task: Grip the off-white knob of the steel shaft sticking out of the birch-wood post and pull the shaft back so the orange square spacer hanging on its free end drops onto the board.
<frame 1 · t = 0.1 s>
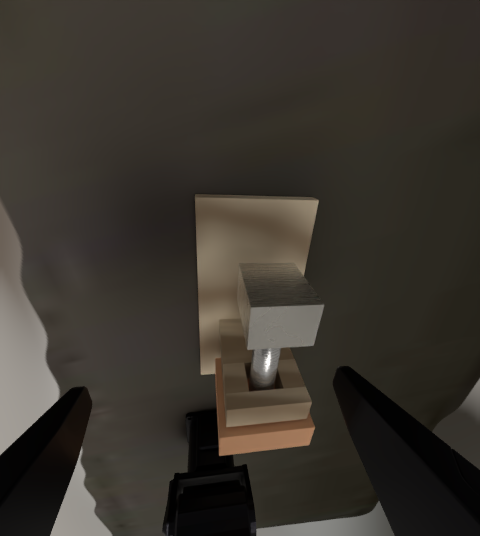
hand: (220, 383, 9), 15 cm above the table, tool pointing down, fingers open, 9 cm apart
spacer: (250, 364, 24), point 4 cm above the table, touching shaft
bracket: (248, 295, 25), on the table
shaft: (264, 361, 18), point 8 cm above the table, slide at 0.0 cm, touching spacer
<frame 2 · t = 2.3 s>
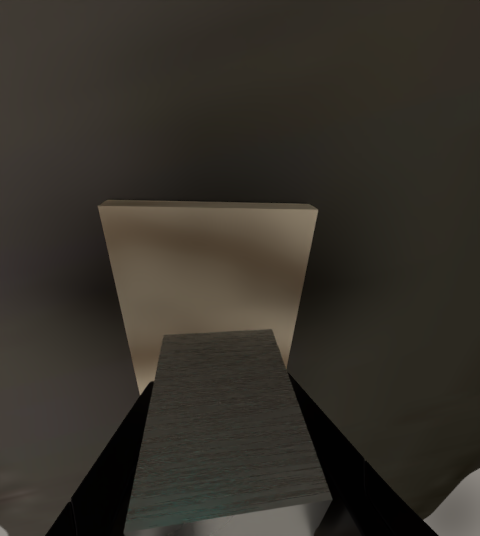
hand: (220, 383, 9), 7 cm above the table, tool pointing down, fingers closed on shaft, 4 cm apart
bracket: (213, 347, 17), on the table
shaft: (221, 502, 10), point 8 cm above the table, slide at 0.0 cm, touching gripper, spacer
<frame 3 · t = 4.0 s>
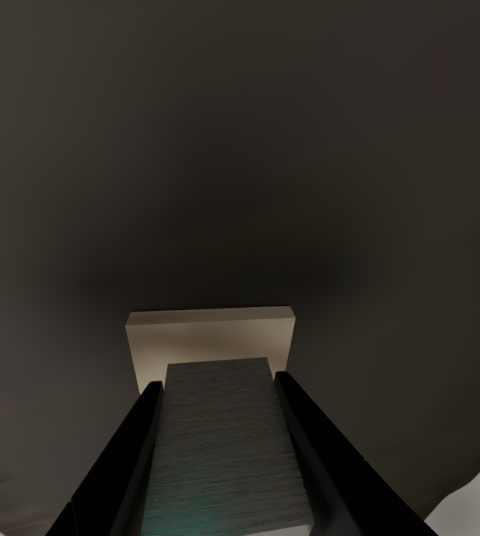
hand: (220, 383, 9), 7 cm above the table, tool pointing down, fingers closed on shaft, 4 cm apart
bracket: (213, 406, 20), on the table
shaft: (220, 515, 11), point 8 cm above the table, slide at 5.1 cm, touching gripper
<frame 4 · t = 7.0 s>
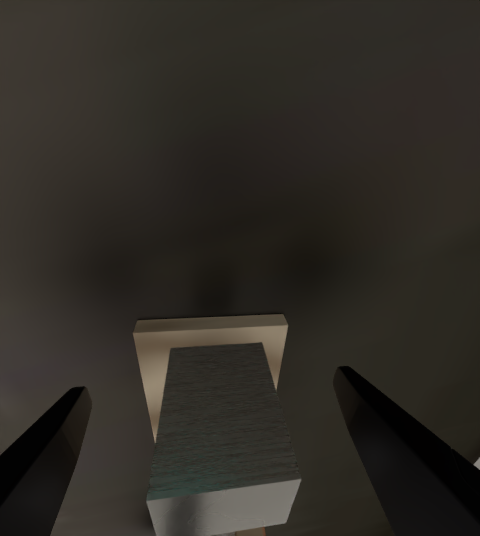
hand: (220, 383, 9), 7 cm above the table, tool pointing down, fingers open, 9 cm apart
bracket: (213, 406, 21), on the table
shaft: (218, 490, 12), point 8 cm above the table, slide at 6.4 cm
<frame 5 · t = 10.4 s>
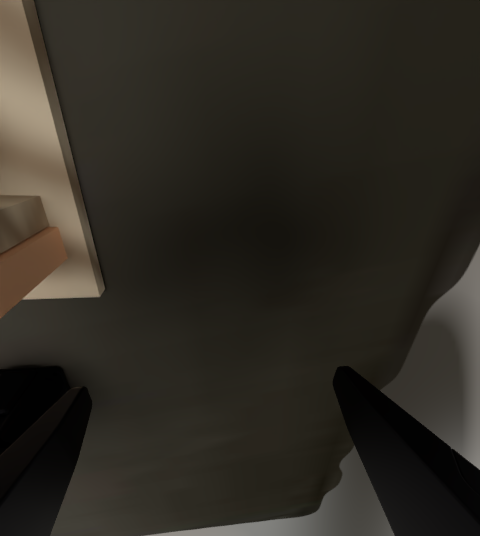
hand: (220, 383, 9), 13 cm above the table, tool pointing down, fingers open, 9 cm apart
spacer: (8, 243, 17), point 1 cm above the table, touching bracket
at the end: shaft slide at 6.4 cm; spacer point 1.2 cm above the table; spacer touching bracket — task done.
